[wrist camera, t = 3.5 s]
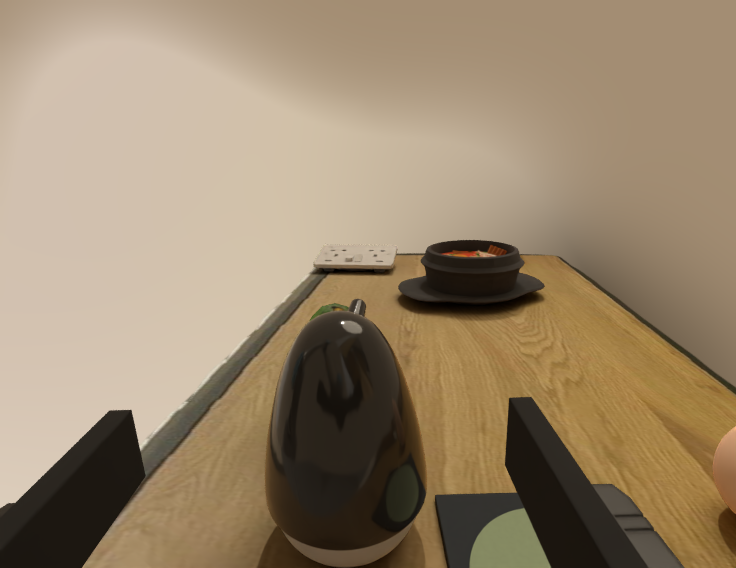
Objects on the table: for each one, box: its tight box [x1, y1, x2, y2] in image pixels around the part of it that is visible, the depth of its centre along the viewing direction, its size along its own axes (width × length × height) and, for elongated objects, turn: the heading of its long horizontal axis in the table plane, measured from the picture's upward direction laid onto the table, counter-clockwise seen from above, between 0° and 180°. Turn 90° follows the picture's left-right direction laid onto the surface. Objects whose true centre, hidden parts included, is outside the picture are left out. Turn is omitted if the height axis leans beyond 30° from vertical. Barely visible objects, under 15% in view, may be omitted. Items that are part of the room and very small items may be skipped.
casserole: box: [398, 240, 545, 305], centre depth 74 cm, size 25×19×8 cm
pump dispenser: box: [265, 299, 427, 568], centre depth 27 cm, size 10×10×15 cm
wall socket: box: [314, 245, 397, 275], centre depth 94 cm, size 18×15×4 cm
